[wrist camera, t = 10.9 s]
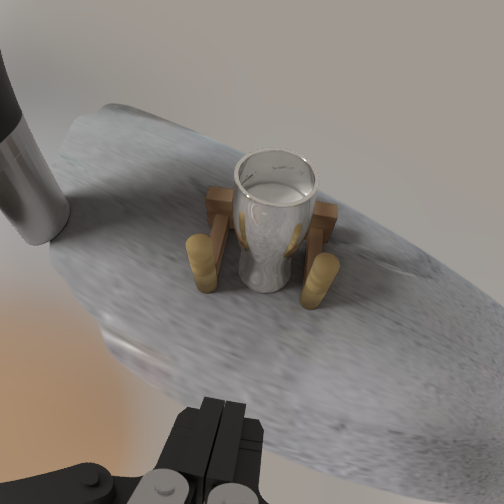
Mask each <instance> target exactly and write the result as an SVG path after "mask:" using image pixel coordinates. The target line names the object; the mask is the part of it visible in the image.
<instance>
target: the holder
mask: <svg viewBox="0 0 504 504" xmlns="http://www.w3.org/2000/svg"><path fill="white" fill-rule="evenodd" d="M232 195H233V189H229V188H221V187H213V186H209V189H208V192H207V195H206V198H205V200H206V208H207V215H208V223H209V225H212V229H211V233H210V236H209V237H208V236H207V235H205V234H194V235H192V236H191V237H189V238H188V240H187V242H186V250H187V253H188V257H189V261H190V264H191V268H192V271H193V275H194V278H195V282H196V285H197V288H198V290H199V291H200V292H202V293H211V292H213V291H215V289H216V288H217V286H218V281H217V277H218V274H219V270H220V266H221V262H222V257H223V253H224V249H225V245H226V241H227V237H228V233H229V229H230V228H233V229H235V228H234V224H233V214H232ZM336 220H337V205H335V204H329V203H324V202H318V201H316V203H315V209H314V213H313V217H312V221H311V224H310V226H309V229H308V232H307V234H306V236H305V238H304V239H306V251H305V263H304V274H303V285H302V292H301V295H300V298H299V300H300V304H301V305H302V306H303V307H304V308H305V309H308V310H313V309H316V308H317V307H318V306H319V305H320V303H321V301H322V300H323V298H324V296H325V294H326V293H327V291H328V289H329V287H330V285H331V284H332V282H333V280H334V278H335V276H336V275H337V273H338V271H339V269H340V263H339V260H338V259H337V257H336V256H334V255H333V254H331V253H322V249H323V242H325V243H328V240H329V238H330V235H331V233H332V230H333V228H334V225H335V223H336Z"/></svg>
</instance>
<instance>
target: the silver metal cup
mask: <svg viewBox="0 0 504 504" xmlns="http://www.w3.org/2000/svg"><path fill="white" fill-rule="evenodd" d="M318 186H319V175H318V172H317V170H316V168H315V167H314V166H313V164H312V163H311V162H310V161H309V160H308V159H307V158H305V157H304V156H302V155H300V154H298V153H296V152H294V151H291V150H287V149H282V148H263V149H258V150H255V151H252V152H250V153H248V154H246V155H245V156H244V157H242V158H241V159H240V160H239V162H238V163H237V165H236V167H235V170H234V185H233V195H232V214H233V224H234V228H235V232H236V236H237V239H238V242H239V245H240V248H241V251H242V255H241V258H240V261H239V265H238V272H239V276H240V278H241V280H242V282H243V283H244V284H245V285H246V286H247V287H248V288H250V289H251V290H253V291H256V292H260V293H272V292H275V291H278V290H279V289H281V288H282V287H284V286H285V285H286V283H287V282H288V281H289V279H290V276H291V259H292V257H293V255H294V254H295V252H296V251H297V250H298V248H299V246H300V245H301V243H302V242H303V240H304V238H305V236H306V234H307V232H308V229H309V226H310V224H311V221H312V217H313V213H314V209H315V203H316V197H317V190H318Z"/></svg>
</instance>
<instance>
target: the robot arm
mask: <svg viewBox="0 0 504 504" xmlns="http://www.w3.org/2000/svg"><path fill="white" fill-rule="evenodd" d="M0 211H1V212H2V213H3V214H4V216H5V217H6V218H7V220H8V221H9V222H10V223H11V225H12V226H13V227H14V228H15V230H16V231H17V232H18V233H19V234H20V236H21V237H22V238H23V239H24V240H25V242H27V243H28V244H30V245H41V244H44V243H46V242H48V241H50V240H51V239H53V238H54V237H55V236H56V235H58V234H59V232H60V231H61V230H62V229H63V228H64V226H65V224H66V223H67V220H68V218H69V214H70V206H69V203H68V201H67V200H66V198H65V196H64V194H63V193H62V191H61V189H60V187H59V185H58V183H57V181H56V180H55V178H54V176H53V174H52V172H51V170H50V169H49V167H48V165H47V163H46V161H45V159H44V157H43V155H42V153H41V151H40V149H39V147H38V145H37V143H36V141H35V139H34V137H33V135H32V133H31V131H30V129H29V127H28V124H27V122H26V120H25V118H24V115H23V113H22V111H21V109H20V106H19V104H18V102H17V99H16V97H15V94H14V91H13V89H12V86H11V83H10V81H9V78H8V75H7V72H6V69H5V66H4V62H3V59H2V55H1V51H0ZM224 405H225V407H224ZM245 408H246V404H243V403H237V402H231V401H226V403H225V400H220V399H214V398H209V397H204V399H203V402H202V405H201V408H200V409H195V408H191V407H187V408H186V409H185V410H183V411H182V412H181V413H180V414H178V416H177V418H176V421H175V423H174V426H173V428H172V430H171V433H170V435H169V437H168V439H167V441H166V444H165V446H164V448H163V451H162V453H161V455H160V457H159V460H158V462H157V464H156V466H155V468H154V469H153V470H152V471H149V472H148V473H146V474H145V475H144V476H140V477H119V476H111V474H110V472H109V471H108V470H107V469H106V468H104V467H103V466H101V465H99V464H95V463H81V464H78V465H74V466H71V467H67V468H64V469H60V470H57V471H53V472H49V473H45V474H41V475H37V476H33V477H29V478H25V479H20V480H15V481H10V482H4V483H0V504H268V503H267V502H266V501H265V500H264V499H263V498H262V496H261V495H260V493H259V489H258V484H259V475H260V465H261V454H262V443H263V434H264V430H263V428H262V426H261V423H260V421H259V420H257V419H250V418H244V414H245ZM204 501H205V503H204Z"/></svg>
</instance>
